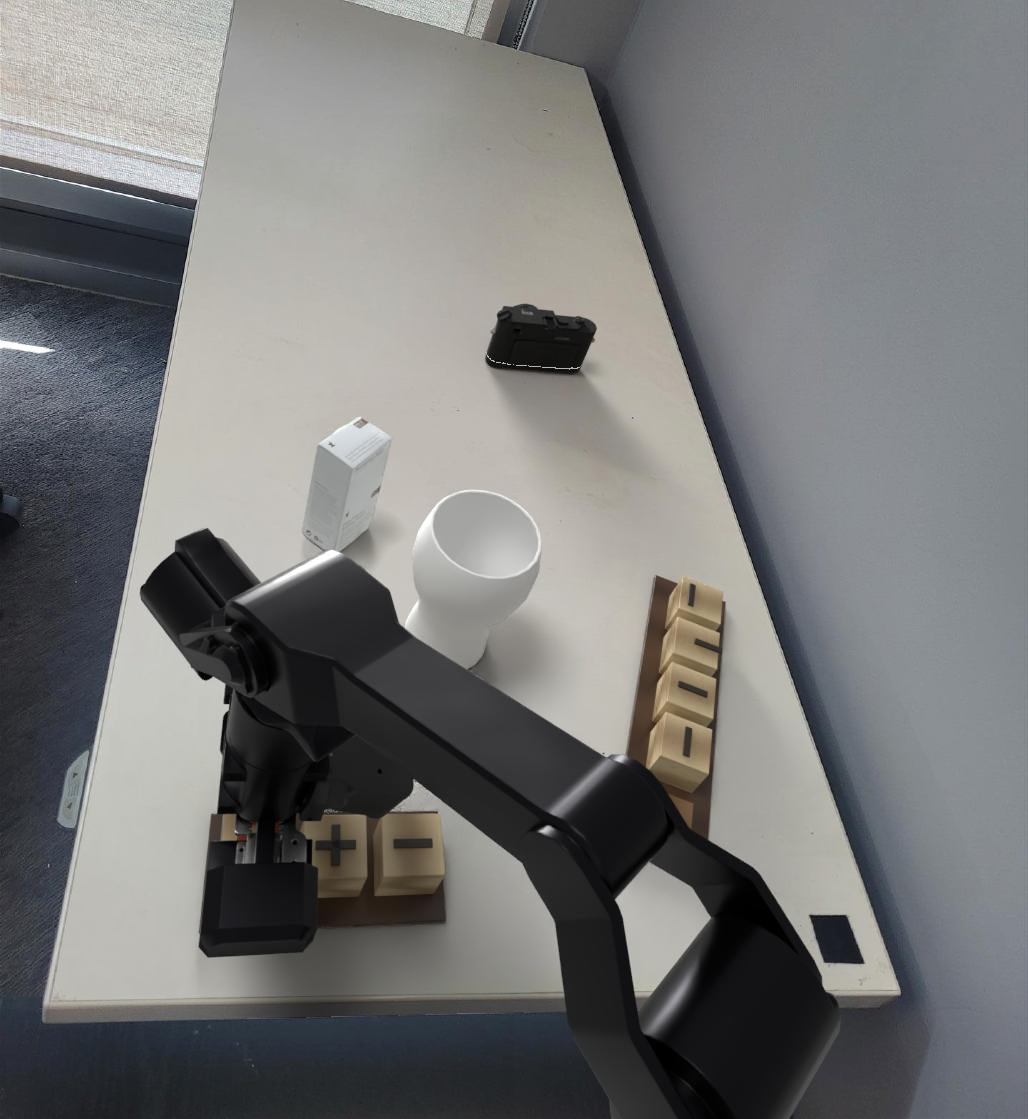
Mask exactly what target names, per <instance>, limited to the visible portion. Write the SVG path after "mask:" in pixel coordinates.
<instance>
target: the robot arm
mask: <svg viewBox="0 0 1028 1119" xmlns="http://www.w3.org/2000/svg"><path fill="white" fill-rule="evenodd" d="M139 597H140V601H141V602H142V603H143V605H144V606H145V607H146V609H147V610H148V611H149V613H150V614H151V615H152V618H154V619H155V620H156V622H157V623H158V625H159V626H160V627H161V629H162V630H163V631H164V633H165V634H166V635H167V637H168V638H169V639H170V640H171V642H172V643H173V644H174V645H175V647H176V648H177V650H178V651H179V653H180V654H181V655H182V656H183V658H184V659H185V660H186V661H187V663H188V664H189V666H190V667H191V669H193V671H194V672H195V674H196V675H197V676H198V677H199V678H200V679H201V681H210V680H211V679H212V678H215V679H217V680H218V681H220V682H222V683H223V684H224V693H223V705H228V710H227V711H226V712H225V713H224V714H223V715H222V716H223V717H222V724H221V733H220V744H219V752H220V754H221V756H222V757H221V766H220V777H219V785H218V786H219V787H218V797H217V808H216V813H217V814H236V816H235V828H234V833H235V835H236V836H247V840H230V841H211V842H210V851H209V861H208V871H207V872H206V880H205V888H204V897H203V896H202V897H203V907H202V916H201V915H200V916H201V926H200V925H199V926H200V934H199V935H198V949H199V950H200V951H201V952H202V953H203V955H204V956H206V957H207V959H210V958H211V959H213V958H228V957H229V958H230V957H247V956H249V957H250V956H264V955H265V956H268V955H282V954H283V955H284V954H285V955H288V954H303V953H304V952H305V950H307V949H308V947H309V946H310V945H311V944H312V943H313V942H314V939H315V936H316V934H317V932H318V929H317V910H318V868H317V867H315V866H313V865H312V844H313V840H312V839H306V837H305V835H304V834H303V833H302V832H300V831H298V830H297V829H296V813H300V816H299V820H300V821H321V820H322V817H323V813H324V812H325V811H326V810H332V811H334V812H346V813H353V814H359V815H365V816H368V817H369V818H374V819H379V818H382V817H384V816H385V815H386V814H387V813H389V812H391V811H393V810H394V809H395V808H396V807H398V806H399V805H400V804H401V803H403V802H404V801H405V800H406V799H407V798H408V797H410V796H411V794H412V793H413V791H414V787H415V782H416V783H418V784H419V785H421V786H422V787H423V788H424V789H425V790H427V791H428V792H429V793H431V794H432V795H433V796H434V797H436V798H437V799H439V800H440V801H441V802H442V803H444V804H445V805H446V806H448V807H449V808H450V809H452V811H454V812H455V813H456V814H458V815H459V816H460V817H462V818H463V819H464V820H465V821H467V822H468V823H469V824H471V825H472V826H473V827H474V828H476V829H477V830H479V831H480V832H481V833H482V834H484V835H485V836H486V837H488V838H489V839H490V840H492V842H494V843H495V844H496V845H498V846H499V847H500V848H502V849H503V850H505V851H506V852H507V853H508V854H509V855H511V856H512V857H513V858H515V859H516V860H517V861H518V862H520V863H521V864H522V866H523V868H524V870H525V873H526V875H527V877H528V879H529V881H530V883H531V884H532V886H533V887H534V889H535V891H536V893H537V895H538V896H539V897H540V900H541V901H542V903H543V905H544V906H545V908H546V909H547V911H548V912H549V914H550V916H551V917H552V919H553V922H554V926H555V934H556V942H557V949H558V958H559V959H558V960H559V965H560V966H559V967H560V973H561V974H560V975H561V981H562V982H561V983H562V990H563V997H564V1005H565V1012H566V1020H567V1026H568V1028H569V1032H570V1034H571V1037H572V1039H573V1040H574V1042H575V1044H576V1045H577V1047H578V1049H579V1051H580V1052H581V1053H582V1056H583V1057H584V1059H585V1061H586V1062H587V1065H588V1066H589V1068H590V1069H591V1071H592V1073H593V1075H594V1076H595V1078H596V1080H597V1081H598V1083H599V1084H600V1086H601V1088H602V1090H603V1091H604V1093H605V1095H606V1096H607V1098H608V1100H609V1103H608V1104H609V1105H608V1106H609V1112H610V1118H611V1119H790V1118H791V1117H792V1115H793V1114H794V1112H795V1110H796V1108H797V1107H798V1105H799V1103H800V1101H801V1099H802V1098H803V1096H804V1095H805V1092H806V1091H807V1089H808V1087H809V1086H810V1085H811V1082H812V1080H813V1079H814V1077H815V1075H816V1073H817V1072H818V1070H819V1068H820V1066H821V1065H822V1063H823V1061H824V1059H825V1058H826V1057H827V1054H828V1052H830V1049H831V1048H832V1045H833V1044H834V1042H835V1041H836V1038H837V1036H838V1035H839V1033H840V1032H841V1031H840V1030H841V1024H842V1015H841V1011H840V1010H841V1009H840V1005H839V1002H838V1000H837V998H836V996H835V994H834V993H832V992H829V991H826V989H825V987H824V985H823V984H824V983H823V975H822V974H821V970H820V969H819V967H818V965H817V963H816V961H815V958H814V957H813V956H812V954H811V952H810V951H809V949H808V948H807V946H806V944H805V943H804V941H803V940H802V938H801V936H800V935H799V934H798V932H797V930H796V929H795V927H794V926H793V924H792V921H790V919H789V918H788V916H787V914H786V913H785V912H784V910H783V908H782V906H781V905H780V904H779V902H778V900H777V899H776V897H775V895H774V894H773V892H772V890H771V889H770V887H769V886H768V884H767V882H766V881H765V880H764V878H763V877H762V874H761V873H760V872H759V871H758V870H757V869H756V868H754V866H752V865H750V864H749V863H748V862H745V861H744V860H742V859H741V858H739V857H738V856H736V855H734V854H732V853H731V852H729V851H728V850H726V849H724V848H722V847H721V846H719V845H718V844H715V842H713V841H711V840H709V838H708V839H706V838H704V837H703V836H701V835H699V834H698V833H696V832H695V831H693V830H691V829H690V828H689V826H688V825H687V823H686V822H685V820H684V818H683V817H682V815H681V814H680V812H679V810H678V809H677V807H676V806H675V804H674V802H673V801H672V799H671V798H670V796H669V794H668V793H667V791H666V790H665V788H664V787H663V785H662V784H661V783H660V782H659V780H658V779H657V778H656V777H655V775H654V774H653V773H652V772H651V771H650V770H649V769H647V768H646V767H645V766H644V765H642V764H641V763H640V762H639V761H637V760H635V759H632V758H630V757H628V756H626V755H625V754H618V753H617V754H613V753H612V754H610V755H608V756H605V755H603V754H602V753H600V752H599V751H597V750H596V749H594V748H592V747H590V746H589V745H587V744H586V743H585V742H583V741H581V740H580V739H578V738H577V737H575V736H574V735H571V734H570V733H568V732H567V731H565V730H564V729H562V728H561V727H559V726H558V725H556V724H554V723H553V722H551V721H549V720H548V719H547V718H545V717H543V716H541V715H540V714H539V713H536V712H535V711H534V710H532V709H530V708H529V707H527V706H526V705H524V704H522V703H521V702H519V701H518V700H516V699H514V698H513V697H511V696H510V695H508V694H506V693H505V692H504V691H502V690H500V689H499V688H497V687H495V686H494V685H492V684H491V683H489V682H488V681H486V680H484V679H483V678H481V677H479V675H477V674H475V673H474V672H472V671H470V670H469V669H465V668H464V667H462V666H461V665H459V664H457V663H456V662H454V661H453V660H451V659H449V658H448V657H446V656H445V655H443V654H441V653H440V652H438V651H437V650H435V649H434V648H432V647H430V646H429V645H427V644H426V643H424V642H422V641H421V640H419V639H418V638H416V637H415V636H414V635H413V634H411V633H410V632H409V631H408V630H407V629H405V628H404V627H405V626H403V625H402V624H401V623H400V621H399V617H398V614H397V610H396V607H395V603H394V600H393V596H392V593H391V590H390V589H389V588H388V587H387V586H385V585H384V584H383V583H382V582H381V581H380V580H378V579H377V578H375V576H373V575H372V574H370V573H369V572H368V571H367V570H366V569H365V568H364V567H363V566H362V565H360V564H358V563H357V562H356V561H354V560H353V559H352V558H351V557H349V556H348V555H346V554H344V553H342V552H336V551H334V550H325V551H324V550H322V552H319V553H317V554H314V555H313V556H311V557H309V558H307V559H305V560H303V561H301V562H299V563H297V564H295V565H293V566H291V567H290V568H288V569H286V570H284V571H282V572H280V573H278V574H276V575H274V576H272V577H270V578H268V579H266V580H264V581H263V582H262V581H261V580H260V579H259V578H258V577H257V576H256V574H255V573H254V572H253V571H252V570H251V569H250V567H249V566H248V565H247V564H246V563H245V561H244V560H243V559H242V557H240V556H239V554H238V553H237V552H236V551H235V549H234V548H233V547H232V546H231V544H229V542H228V541H226V540H225V539H224V538H220V537H216V535H214V533H213V532H212V531H211V529H209V527H208V526H204V527H201V528H200V529H198V530H195V531H194V532H191V533H189V534H186V535H183V536H182V537H179V538H177V539H175V540H174V551H173V552H172V553H171V554H169V555H168V556H166V557H165V558H164V559H163V560H162V561H161V562H160V563H159V564H158V565H157V566H156V567H155V568H154V569H153V570H152V572H151V573H150V574H149V576H148V577H147V579H146V580H145V582H144V583H143V584H142V585H141V586H140V588H139ZM414 781H415V782H414ZM250 822H255V823H257V825H256V833H252V830H250V829H249V828H252V825H253V823H250ZM276 822H281V823H279V824H278V828H281V829H280V830H278V832H275V823H276ZM281 835H282V840H280V838H281ZM649 863H650V864H652V865H654V866H655V867H657V868H659V869H660V870H662V871H664V872H665V873H667V874H668V875H670V876H672V877H674V878H675V879H677V880H678V881H681V882H683V883H684V884H685V885H687V886H688V887H690V888H691V889H692V890H693V891H694V893H695V895H696V896H697V898H698V899H699V901H700V903H701V904H702V905H703V908H704V909H705V911H706V912H707V914H708V915H709V917H710V918H709V920H708V921H707V922H706V924H705V925H704V926H703V927H702V929H701V930H700V931H699V932H698V933H697V935H696V937H694V939H693V940H692V942H691V943H690V944H689V945H688V947H687V948H686V949H685V950H684V952H683V953H682V954H681V956H680V957H679V958H678V960H677V961H676V962H675V963H674V965H672V967H671V968H670V970H669V971H668V972H667V974H665V976H664V978H662V980H661V981H660V982H659V984H658V985H657V986H656V988H655V989H654V990H653V992H651V994H650V995H649V997H648V998H647V999H646V1000H645V1001H644V1003H643V1004H642V1005H641V1007H640V1008H639V1010H638V1006H637V999H636V992H635V986H634V980H633V973H632V968H631V960H630V954H629V948H628V942H627V935H626V928H625V921H624V917H623V915H622V914H623V913H622V911H621V909H620V906H619V904H618V902H617V901H616V900H617V898H618V897H619V896H620V895H621V894H622V893H623V892H624V891H625V889H627V887H629V885H630V884H631V883H632V882H633V880H634V879H635V878H636V877H638V875H639V874H640V873H641V872H642V871H643V869H645V867H646V866H647V865H648V864H649Z"/></svg>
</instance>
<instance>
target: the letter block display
mask: <svg viewBox="0 0 1028 1119" xmlns="http://www.w3.org/2000/svg"><path fill="white" fill-rule="evenodd" d="M723 598H724V591H723V590H720V589H719V588H716V587H713V586H712V585H711V586H710V585H708V584H705V583H703V582H701V581H698V580H695V579H693V578H689V577H687V576H685V575H682V576H681V578H680V580H679V581H678V582H676V581H673V580H671V579H668V578H665V577H662V576H661V575H657V574H655V575H654V576H653V581H652V586H651V593H650V599H649V603H648V604H649V605H648V613H647V617H646V624H645V630H644V631H645V632H644V636H643V642H642V647H641V648H642V650H641V655H640V661H639V667H638V674H637V679H636V685H635V692H634V699H633V705H632V711H631V717H630V724H629V730H628V736H627V743H626V748H625V754H624V755H626V756H628V757H630V758H632V759H635V760H637V761H639V762H640V763H641V764H642V765H644V766H645V767H646V768H647V769H649V770H650V771H651V772H652V773H653V774H654V775H655V777H656V778H657V779H658V780H659V782H660V783H661V784H662V785H663V787H664V788H665V790H666V791H667V793H668V794H669V796H670V798H671V799H672V801H673V802H674V804H675V806H676V807H677V809H678V810H679V812H680V814H681V815H682V817H683V818H684V820H685V822H686V823H687V825H688V826H689V828H690V829H691V830H693V831H695V832H696V833H698V834H699V835H701V836H703V837H704V838H706V839H708V840H709V832H710V818H711V806H712V805H711V804H712V794H713V792H712V791H713V779H714V766H715V764H714V763H715V754H716V753H715V751H716V740H717V723H718V710H719V696H720V684H721V671H722V670H721V669H722V657H723V650H724V648H723V644H724V632H725V631H724V630H725V616H726V605H727V604H726V603H727V602H726V601H724V600H723Z"/></svg>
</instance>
